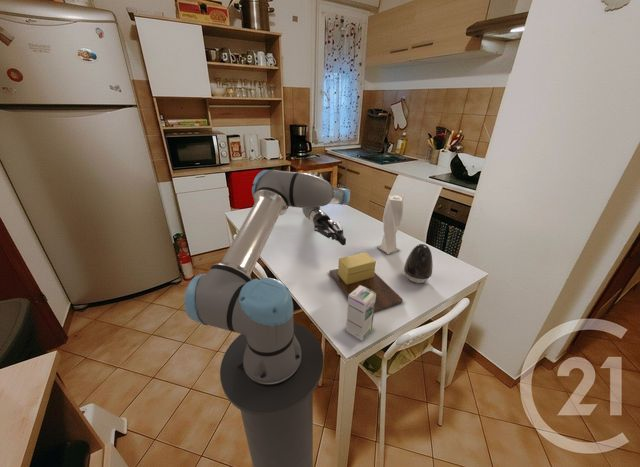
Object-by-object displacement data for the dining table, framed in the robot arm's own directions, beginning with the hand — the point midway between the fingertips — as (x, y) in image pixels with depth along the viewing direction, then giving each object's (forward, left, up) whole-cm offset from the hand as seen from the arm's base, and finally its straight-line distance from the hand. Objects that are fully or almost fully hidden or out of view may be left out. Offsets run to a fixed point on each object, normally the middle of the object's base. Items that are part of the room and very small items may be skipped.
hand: (344, 242), depth 106 cm
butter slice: (-2, -10, -5) cm, 12 cm away
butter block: (-2, -10, -9) cm, 14 cm away
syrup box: (-18, -30, -11) cm, 37 cm away
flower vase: (+18, +51, -11) cm, 55 cm away
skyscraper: (+25, -2, -11) cm, 28 cm away
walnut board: (-3, -16, -11) cm, 19 cm away
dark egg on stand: (+18, -23, -11) cm, 32 cm away
